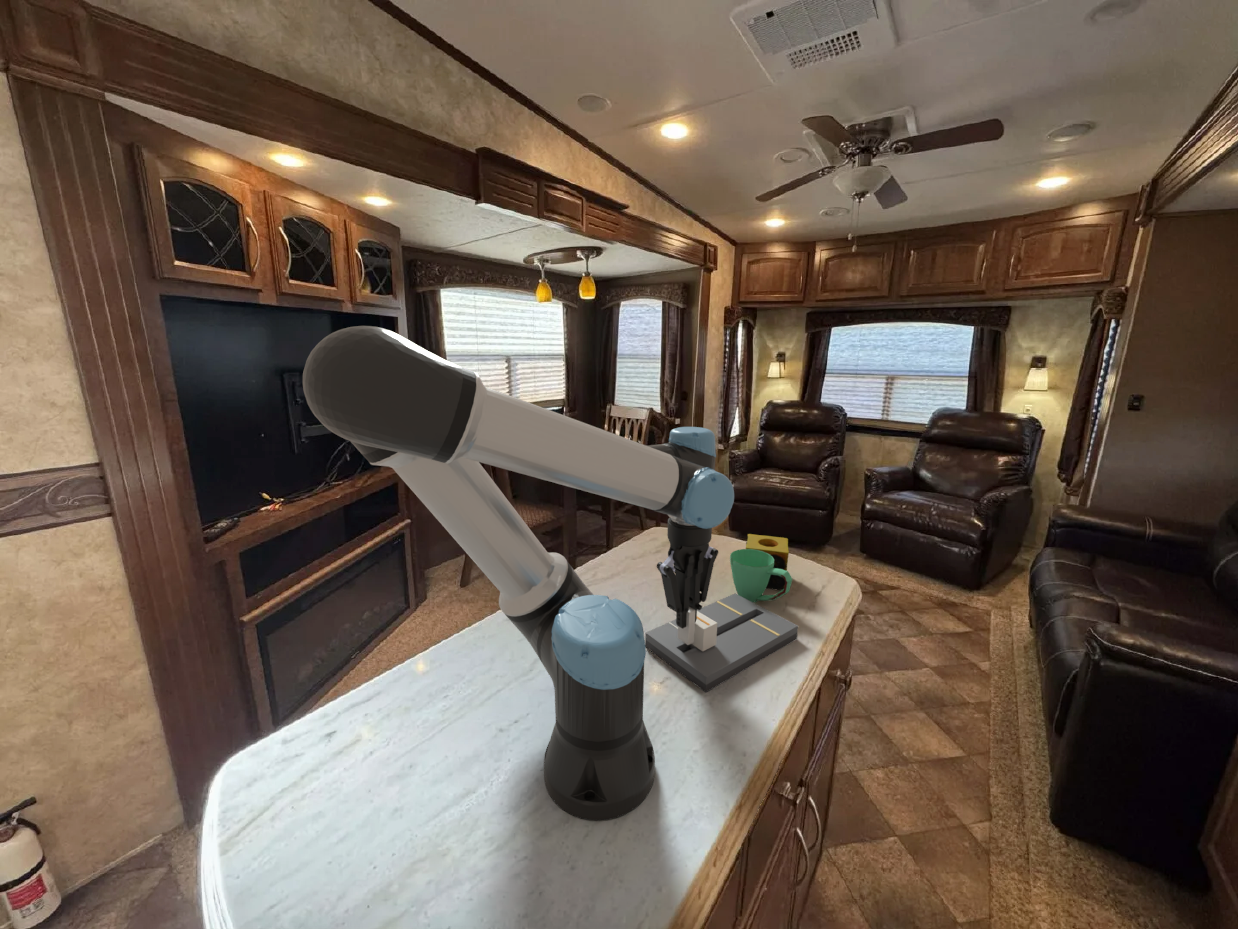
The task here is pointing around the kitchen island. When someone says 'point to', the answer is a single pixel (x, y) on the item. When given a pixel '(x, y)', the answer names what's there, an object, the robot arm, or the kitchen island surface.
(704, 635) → the fader tab
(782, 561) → the yellow cube with holes
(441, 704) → the kitchen island surface
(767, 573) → the mug
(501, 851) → the kitchen island surface
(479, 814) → the kitchen island surface
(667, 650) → the console
